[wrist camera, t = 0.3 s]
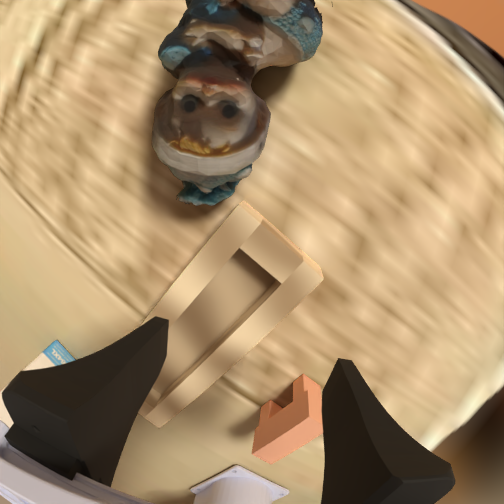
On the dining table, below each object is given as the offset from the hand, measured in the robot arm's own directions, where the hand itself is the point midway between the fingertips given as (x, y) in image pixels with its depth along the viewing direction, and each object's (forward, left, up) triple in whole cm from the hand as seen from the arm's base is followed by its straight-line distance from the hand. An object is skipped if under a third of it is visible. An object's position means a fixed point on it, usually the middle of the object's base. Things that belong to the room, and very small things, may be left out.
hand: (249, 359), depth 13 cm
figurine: (+8, +10, -11) cm, 17 cm away
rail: (-7, +1, -11) cm, 13 cm away
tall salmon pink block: (-7, -9, -11) cm, 16 cm away
